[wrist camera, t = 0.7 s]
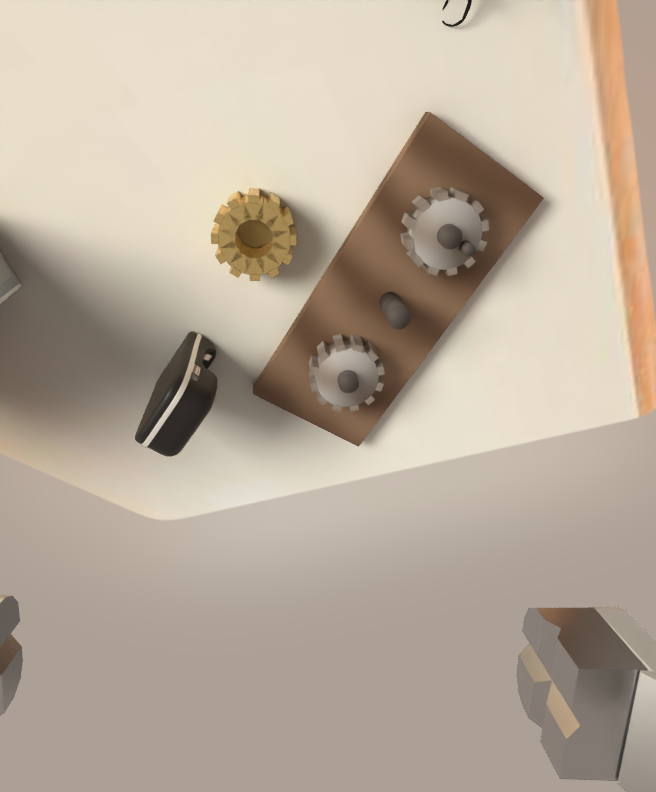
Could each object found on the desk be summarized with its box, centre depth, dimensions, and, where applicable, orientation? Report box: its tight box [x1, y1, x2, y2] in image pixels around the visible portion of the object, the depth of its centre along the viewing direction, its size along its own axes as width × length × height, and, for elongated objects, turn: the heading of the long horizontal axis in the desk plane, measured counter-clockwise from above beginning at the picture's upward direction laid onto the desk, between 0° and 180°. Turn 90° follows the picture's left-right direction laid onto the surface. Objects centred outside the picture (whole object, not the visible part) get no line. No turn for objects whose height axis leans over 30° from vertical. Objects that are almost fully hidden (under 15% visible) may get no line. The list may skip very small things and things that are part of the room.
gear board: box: [253, 112, 543, 447], centre depth 50 cm, size 28×12×6 cm, turn 148°
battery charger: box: [135, 332, 217, 456], centre depth 49 cm, size 7×4×11 cm, turn 144°
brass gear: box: [211, 188, 297, 281], centre depth 47 cm, size 7×7×4 cm
